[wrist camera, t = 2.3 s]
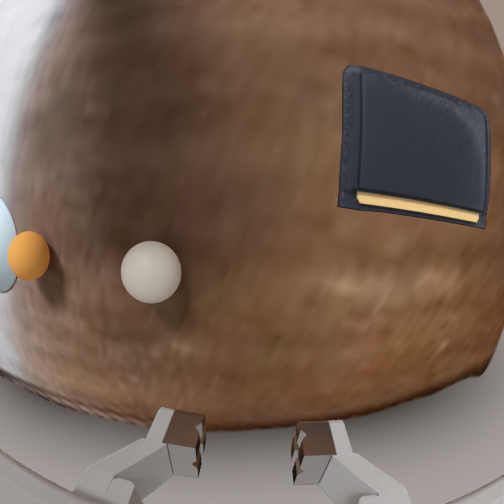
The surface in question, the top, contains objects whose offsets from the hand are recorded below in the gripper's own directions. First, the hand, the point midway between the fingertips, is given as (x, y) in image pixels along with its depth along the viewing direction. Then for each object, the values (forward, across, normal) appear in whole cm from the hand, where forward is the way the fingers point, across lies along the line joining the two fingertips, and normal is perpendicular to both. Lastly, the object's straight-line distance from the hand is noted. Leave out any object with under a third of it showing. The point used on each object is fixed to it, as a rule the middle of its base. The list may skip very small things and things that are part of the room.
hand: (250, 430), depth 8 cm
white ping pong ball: (+16, +10, 0) cm, 19 cm away
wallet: (+20, -16, -14) cm, 29 cm away
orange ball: (+16, +25, 0) cm, 30 cm away
